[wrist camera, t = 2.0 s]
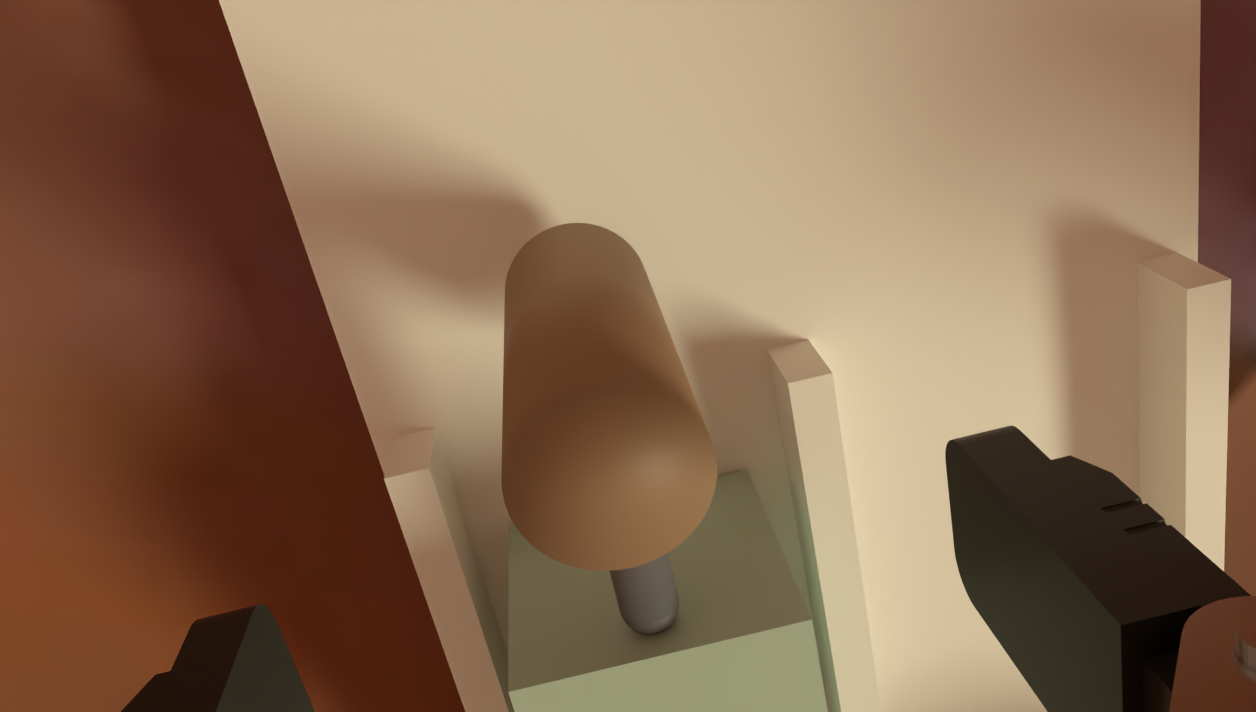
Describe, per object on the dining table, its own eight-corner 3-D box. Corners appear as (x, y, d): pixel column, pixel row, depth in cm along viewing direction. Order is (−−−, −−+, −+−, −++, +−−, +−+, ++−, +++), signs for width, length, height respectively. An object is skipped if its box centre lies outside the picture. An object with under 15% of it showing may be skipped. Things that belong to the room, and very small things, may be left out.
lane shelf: (150, -318, 21) (-48, -452, 13) (1116, -534, 21) (1440, -780, 14) (534, 830, 33) (540, 1085, 26) (1136, 684, 34) (1311, 896, 26)
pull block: (422, 238, 23) (366, 435, 14) (691, 175, 23) (805, 331, 14) (581, 768, 29) (612, 1138, 20) (793, 717, 29) (916, 1063, 20)
